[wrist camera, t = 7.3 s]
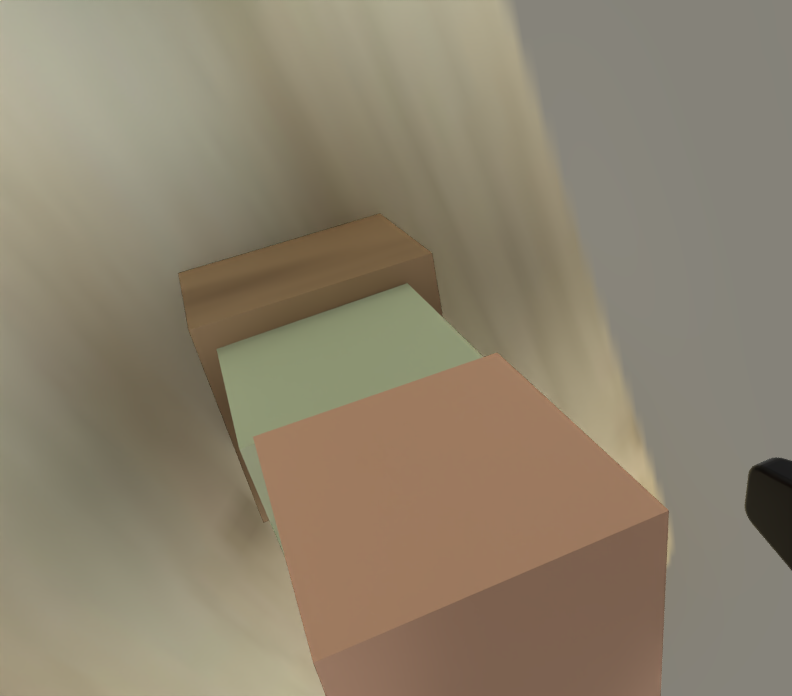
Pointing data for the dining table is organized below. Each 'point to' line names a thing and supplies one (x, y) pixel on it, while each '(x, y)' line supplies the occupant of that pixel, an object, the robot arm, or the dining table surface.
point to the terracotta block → (467, 544)
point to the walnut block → (297, 290)
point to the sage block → (333, 365)
